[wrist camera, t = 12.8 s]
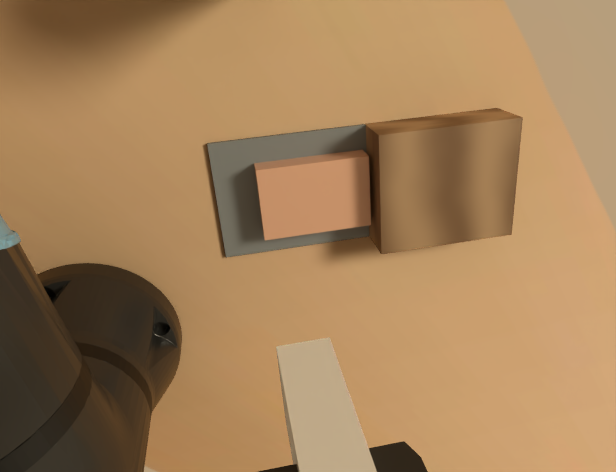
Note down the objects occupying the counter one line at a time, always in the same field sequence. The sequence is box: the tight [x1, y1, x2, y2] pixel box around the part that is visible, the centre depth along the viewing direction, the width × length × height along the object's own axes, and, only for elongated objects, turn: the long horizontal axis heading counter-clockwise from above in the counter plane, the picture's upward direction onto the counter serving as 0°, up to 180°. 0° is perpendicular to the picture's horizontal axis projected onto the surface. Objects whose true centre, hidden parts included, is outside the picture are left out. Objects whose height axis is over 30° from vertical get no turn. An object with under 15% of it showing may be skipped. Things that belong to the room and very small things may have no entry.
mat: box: [207, 124, 369, 257], centre depth 44 cm, size 13×10×1 cm
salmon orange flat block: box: [254, 150, 371, 240], centre depth 43 cm, size 9×6×2 cm, turn 95°
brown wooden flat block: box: [365, 108, 523, 254], centre depth 43 cm, size 12×10×4 cm
